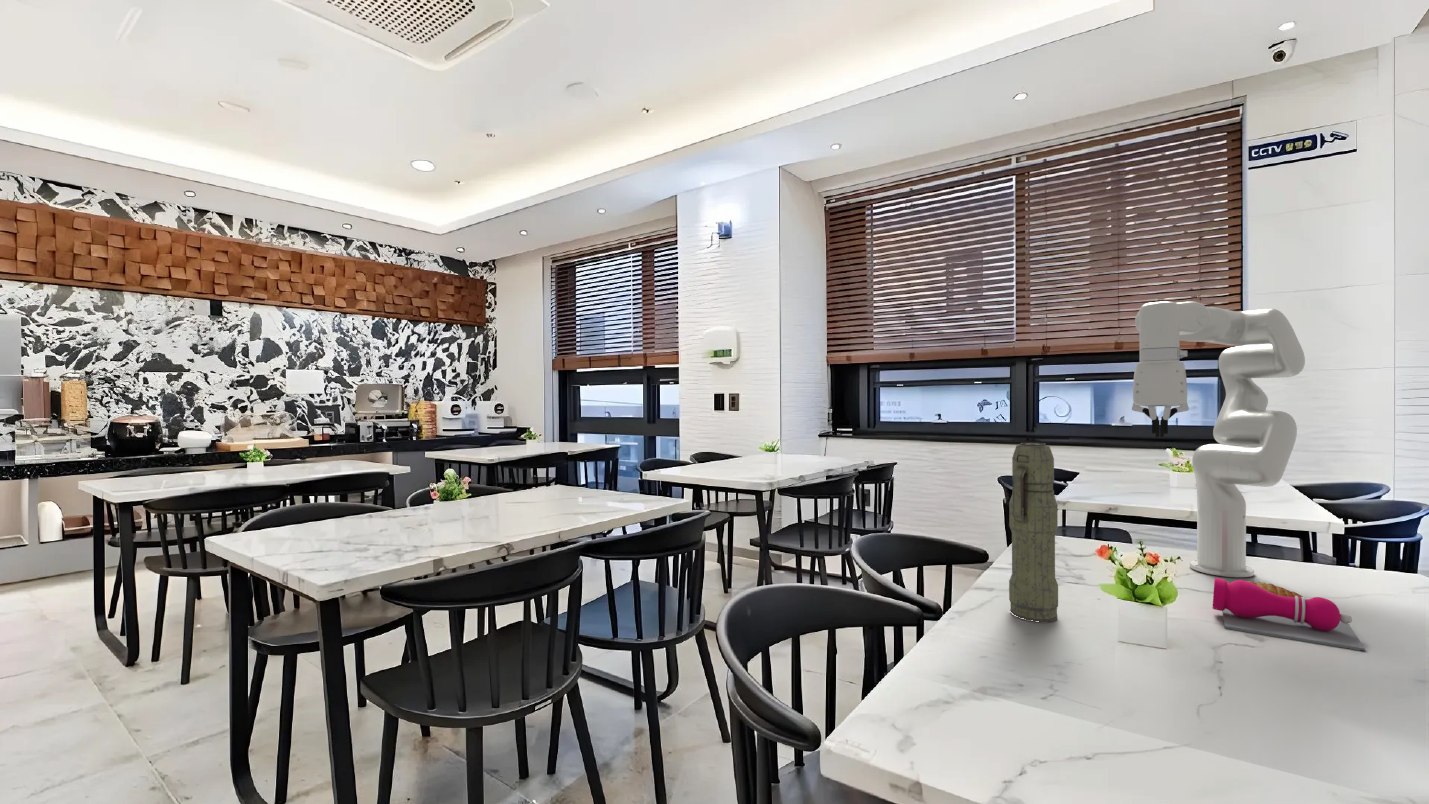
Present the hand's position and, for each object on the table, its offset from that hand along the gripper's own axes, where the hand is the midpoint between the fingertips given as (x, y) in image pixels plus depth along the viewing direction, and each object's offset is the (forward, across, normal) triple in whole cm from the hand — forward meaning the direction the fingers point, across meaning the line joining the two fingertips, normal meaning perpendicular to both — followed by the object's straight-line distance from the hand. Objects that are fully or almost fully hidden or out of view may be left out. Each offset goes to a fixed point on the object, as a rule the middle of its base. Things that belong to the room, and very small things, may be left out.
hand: (1159, 436), depth 147 cm
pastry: (+35, -19, -2) cm, 40 cm away
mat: (+35, -20, +16) cm, 43 cm away
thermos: (+34, +21, +36) cm, 54 cm away
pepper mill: (+30, -9, +16) cm, 35 cm away
